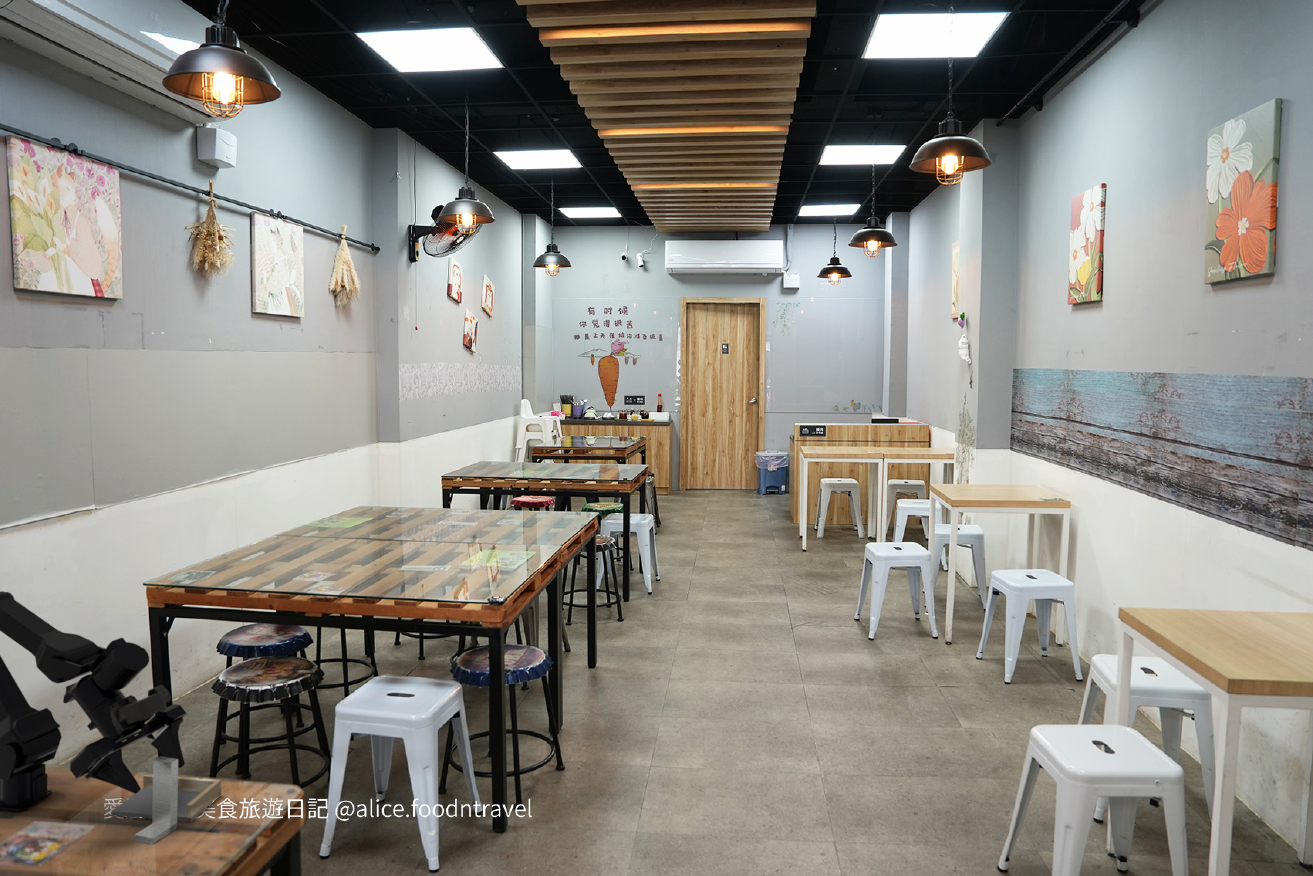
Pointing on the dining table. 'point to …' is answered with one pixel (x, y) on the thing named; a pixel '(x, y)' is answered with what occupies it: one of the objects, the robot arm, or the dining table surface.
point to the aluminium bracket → (162, 801)
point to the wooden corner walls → (205, 786)
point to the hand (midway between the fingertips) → (161, 778)
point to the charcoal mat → (143, 805)
